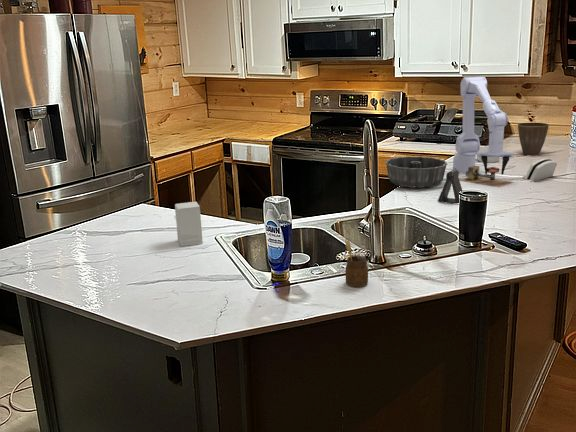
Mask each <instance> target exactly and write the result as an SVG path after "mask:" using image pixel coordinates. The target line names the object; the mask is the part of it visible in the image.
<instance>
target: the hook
mask: <svg viewBox="0 0 576 432" xmlns="http://www.w3.org/2000/svg"><path fill="white" fill-rule="evenodd" d="M488 173H490V174H488ZM496 173H500V168H499V167H496V166H490V167H488V166H487V174H485V173H482V172H481V173H480V172H479V173H474V176H479V177H484V178H490V180H495V179H496ZM465 176H466V177H468V171H466V173H465Z"/></svg>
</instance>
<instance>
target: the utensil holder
mask: <svg viewBox="0 0 576 432" xmlns="http://www.w3.org/2000/svg"><path fill="white" fill-rule="evenodd" d="M344 241H345V248H346V251H348V255H349V256H348V257H347V259H346V265H345V283H346V285H347V286H349V287H351V288H363V287H365V286H367V285H368V284H369V267H368V265H367V263H368V262H367V261H368V260H367V258H366V256H367V250H368V249H365V250H363V248H366V246H365V245H361V246H360V247H359V248H358V249H357V250H363V253H364V254H362V255H361V251H356V252H357V253H356V254H359V255H352V254H351V250H352V246H351V243H350V238H349V237H347V238H345V239H344Z"/></svg>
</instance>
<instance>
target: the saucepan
mask: <svg viewBox="0 0 576 432" xmlns="http://www.w3.org/2000/svg"><path fill="white" fill-rule="evenodd" d="M488 150H489V147H488V148H486V147H485V148H480V150H479V152H487V151H488ZM492 156H493V155H492ZM498 156H500V155H498ZM487 159H488V160H487V164H489V163H496V162H498V161H500V157H487ZM476 160H477V161H479V162H480V163H483V161H482V159H481V157H477V156H476Z"/></svg>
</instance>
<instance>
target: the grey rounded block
mask: <svg viewBox="0 0 576 432" xmlns="http://www.w3.org/2000/svg"><path fill="white" fill-rule="evenodd" d="M557 165H558V164H557V162H556V161H555V160H552V159H550V158H541V159H538V160H536V161H534V162H533V163H531V165H530V166H529V169H528V170H527V172H526V174H525V175H523V176H522V179H525V180H530V181H529V182H530V183H532V182H536V181H539V180H544V179H547V178H551V177H553V176H554V173H555V171H556V168H557Z"/></svg>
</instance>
